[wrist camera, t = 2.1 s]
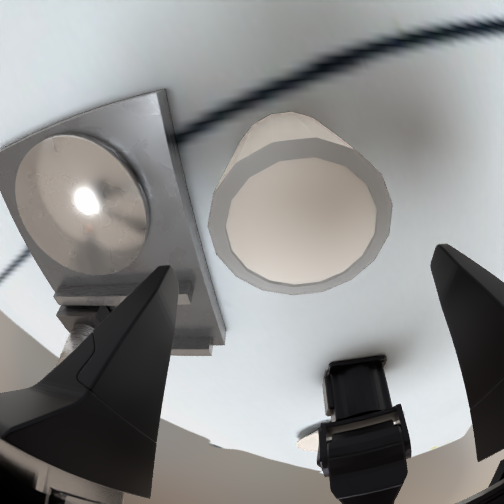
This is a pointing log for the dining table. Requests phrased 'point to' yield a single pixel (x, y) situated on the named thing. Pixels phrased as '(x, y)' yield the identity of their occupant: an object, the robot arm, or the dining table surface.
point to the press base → (113, 212)
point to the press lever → (79, 324)
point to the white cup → (298, 208)
